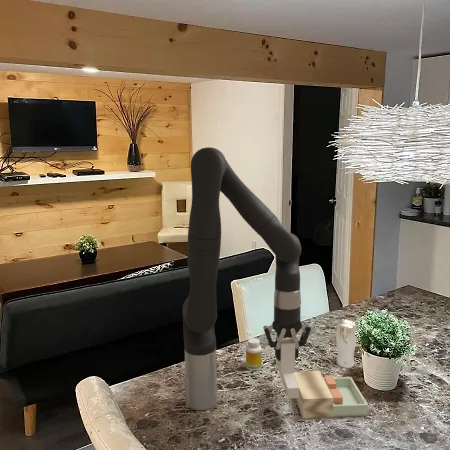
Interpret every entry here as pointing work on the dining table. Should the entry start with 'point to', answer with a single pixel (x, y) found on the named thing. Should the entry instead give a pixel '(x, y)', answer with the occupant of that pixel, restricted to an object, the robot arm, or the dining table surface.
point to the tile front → (337, 396)
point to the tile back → (330, 382)
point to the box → (349, 399)
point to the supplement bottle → (253, 354)
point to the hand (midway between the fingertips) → (286, 358)
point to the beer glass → (346, 342)
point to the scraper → (288, 368)
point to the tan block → (313, 395)
